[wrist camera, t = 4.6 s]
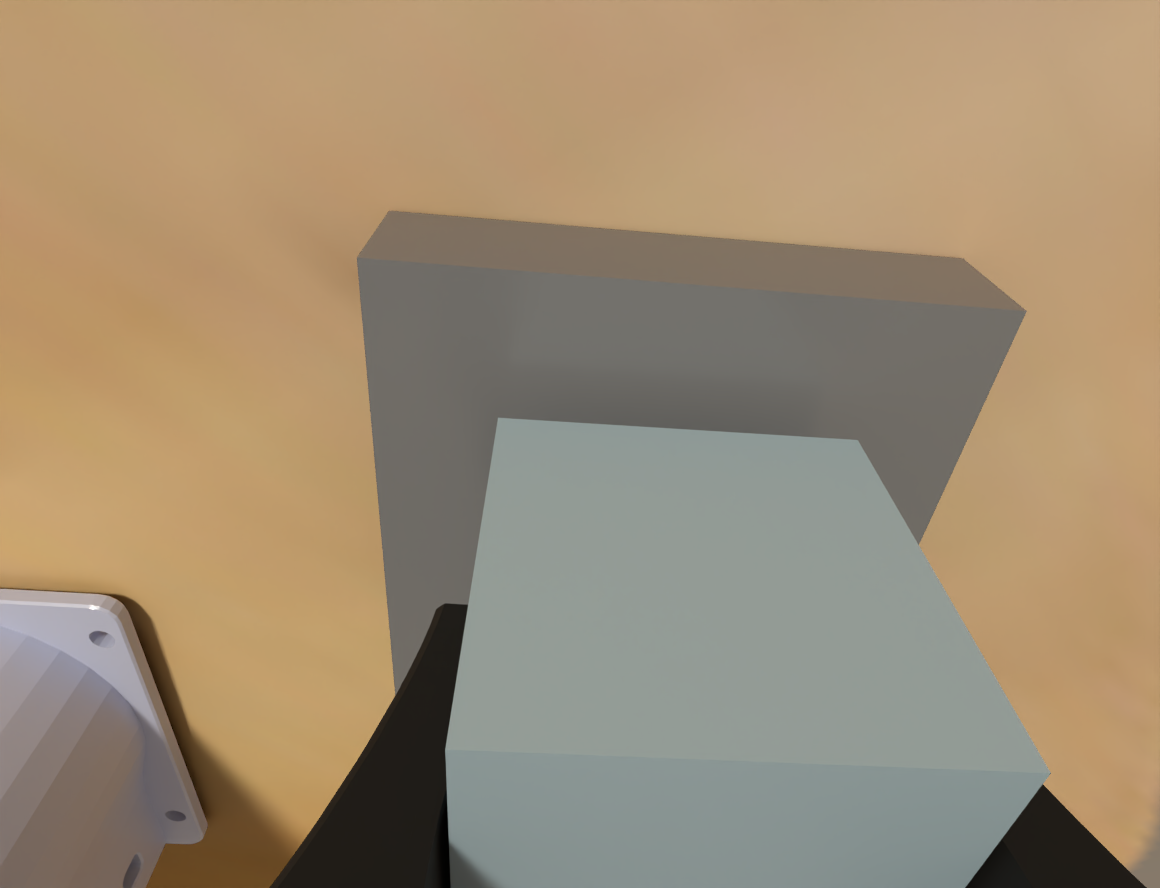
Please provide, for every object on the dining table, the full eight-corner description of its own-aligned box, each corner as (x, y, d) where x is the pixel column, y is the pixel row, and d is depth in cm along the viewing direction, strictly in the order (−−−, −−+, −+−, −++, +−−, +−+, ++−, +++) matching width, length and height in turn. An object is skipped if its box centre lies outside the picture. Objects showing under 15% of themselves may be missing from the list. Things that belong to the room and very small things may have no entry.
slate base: (813, 640, 17) (839, 717, 15) (414, 618, 16) (395, 695, 15) (963, 258, 12) (1026, 310, 10) (389, 210, 11) (356, 257, 10)
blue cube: (776, 674, 13) (871, 1013, 9) (493, 662, 13) (455, 1003, 9) (857, 439, 10) (1050, 772, 6) (497, 417, 10) (445, 750, 6)
